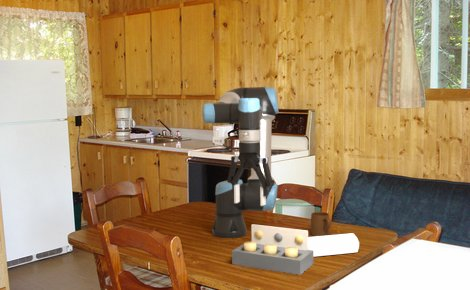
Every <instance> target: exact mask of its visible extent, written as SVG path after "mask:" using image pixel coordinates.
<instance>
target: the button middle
mask: <svg viewBox="0 0 470 290" xmlns="http://www.w3.org/2000/svg"><path fill="white" fill-rule="evenodd" d="M264 254H268V255H276V254H277V246H276V245H274V244H267V245H264Z"/></svg>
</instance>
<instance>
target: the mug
mask: <svg viewBox="0 0 470 290" xmlns="http://www.w3.org/2000/svg"><path fill="white" fill-rule="evenodd" d="M331 226H332V220H331V219H330V216H329V213H328V212H323V211H322V212H321V211H318V212H316V211H315V212H312V213H311V215H310V231H311V232H310V234H311V237H316V236H327V235H329V234H330V228H331Z"/></svg>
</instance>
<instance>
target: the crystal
mask: <svg viewBox="0 0 470 290" xmlns="http://www.w3.org/2000/svg"><path fill="white" fill-rule="evenodd" d="M359 249H360V241H359V239H358V237H357V236H356V235H355V233H340V234H330V235H327V236H316V237H314V236H308V250H313V258H315V257H323V256H332V255H333V256H334V255H343V254H353V253H358V252H359Z"/></svg>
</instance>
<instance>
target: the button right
mask: <svg viewBox="0 0 470 290" xmlns="http://www.w3.org/2000/svg"><path fill="white" fill-rule="evenodd" d="M285 257H289V258H298V248H295V247H287V248H285Z"/></svg>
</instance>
